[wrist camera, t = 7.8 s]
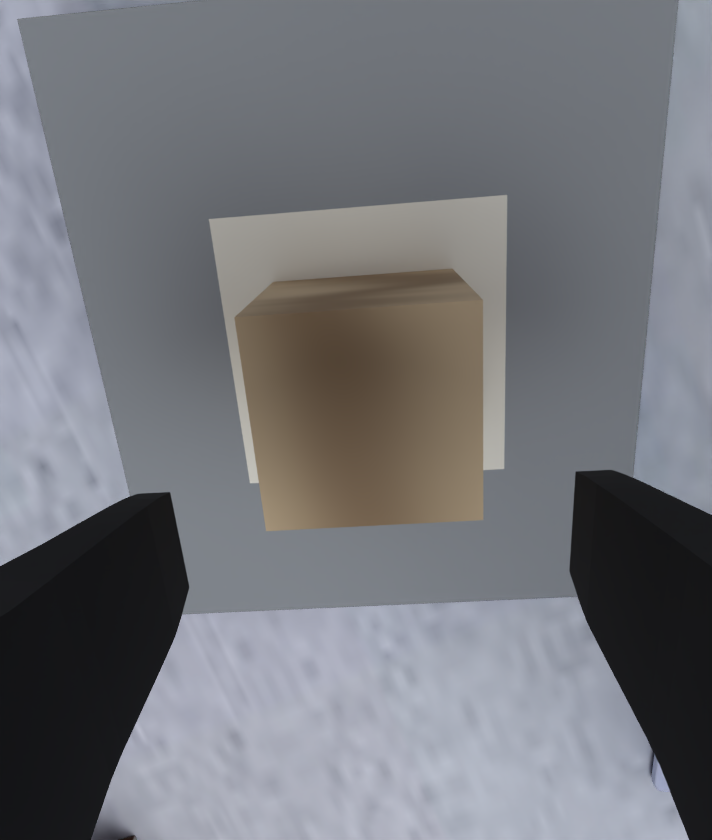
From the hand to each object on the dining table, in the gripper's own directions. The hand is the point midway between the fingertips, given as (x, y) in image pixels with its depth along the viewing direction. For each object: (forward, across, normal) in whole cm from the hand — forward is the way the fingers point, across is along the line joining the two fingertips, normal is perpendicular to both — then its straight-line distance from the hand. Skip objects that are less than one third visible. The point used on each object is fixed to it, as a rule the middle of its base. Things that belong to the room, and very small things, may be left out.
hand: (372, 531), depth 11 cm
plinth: (+10, 0, -1) cm, 10 cm away
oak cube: (+8, 0, -1) cm, 8 cm away
